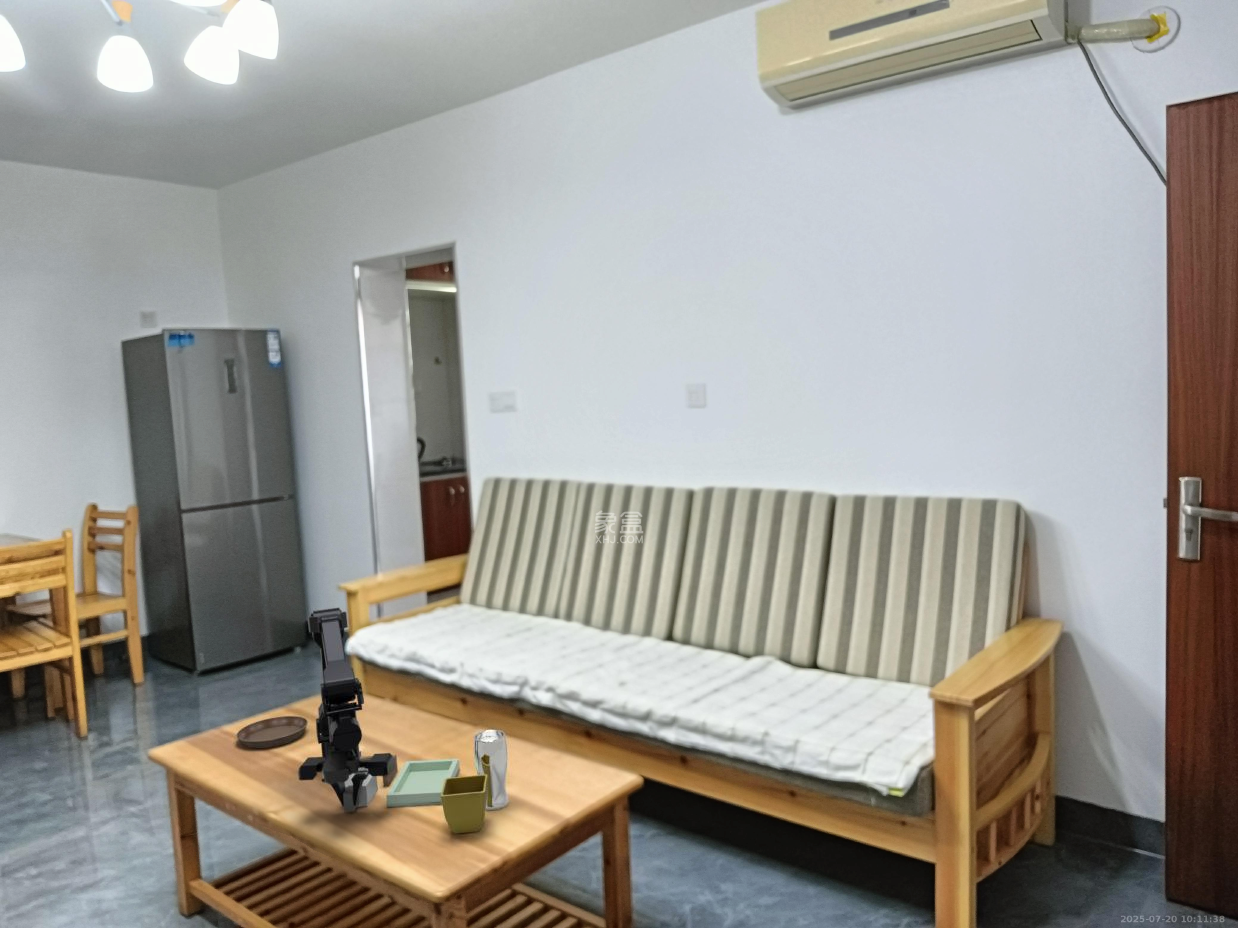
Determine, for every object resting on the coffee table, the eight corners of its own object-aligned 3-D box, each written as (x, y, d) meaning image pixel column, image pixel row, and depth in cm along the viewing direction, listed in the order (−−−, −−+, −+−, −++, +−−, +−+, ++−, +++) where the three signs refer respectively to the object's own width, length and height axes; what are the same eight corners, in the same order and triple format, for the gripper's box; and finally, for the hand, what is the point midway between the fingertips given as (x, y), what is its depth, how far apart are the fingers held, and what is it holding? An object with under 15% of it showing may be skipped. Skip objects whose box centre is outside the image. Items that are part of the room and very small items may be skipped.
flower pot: (448, 819, 188) (444, 777, 188) (490, 815, 189) (487, 773, 188) (443, 839, 180) (440, 795, 179) (488, 835, 180) (485, 791, 180)
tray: (387, 806, 196) (386, 795, 195) (406, 771, 213) (406, 761, 213) (444, 803, 195) (444, 792, 195) (459, 769, 213) (458, 758, 213)
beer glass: (516, 797, 196) (511, 730, 195) (501, 812, 190) (496, 742, 189) (487, 794, 199) (482, 728, 197) (472, 809, 192) (466, 740, 191)
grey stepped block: (336, 815, 193) (334, 794, 192) (353, 790, 205) (351, 770, 204) (362, 814, 193) (360, 792, 192) (377, 789, 205) (376, 768, 204)
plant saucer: (223, 744, 239) (222, 733, 238) (282, 721, 253) (281, 711, 253) (263, 757, 228) (262, 745, 228) (322, 732, 243) (321, 721, 243)
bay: (345, 788, 206) (343, 771, 206) (355, 773, 214) (354, 756, 214) (388, 786, 206) (387, 769, 206) (397, 771, 214) (396, 754, 214)
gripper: (285, 751, 184) (292, 825, 185) (377, 746, 184) (383, 820, 185) (304, 730, 195) (311, 800, 196) (391, 725, 195) (397, 796, 196)
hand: (349, 805), depth 193 cm, fingers closed on grey stepped block, 2 cm apart
